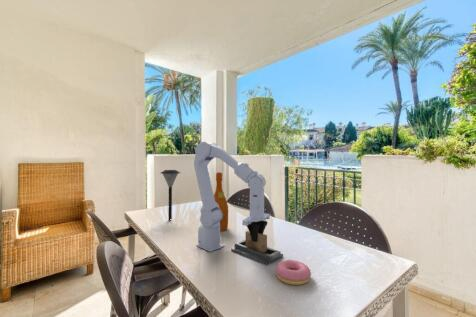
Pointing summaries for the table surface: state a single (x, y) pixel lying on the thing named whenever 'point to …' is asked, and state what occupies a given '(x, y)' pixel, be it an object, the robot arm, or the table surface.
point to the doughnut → (293, 272)
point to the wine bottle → (221, 202)
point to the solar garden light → (170, 185)
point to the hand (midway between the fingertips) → (256, 240)
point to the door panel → (260, 244)
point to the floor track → (257, 253)
